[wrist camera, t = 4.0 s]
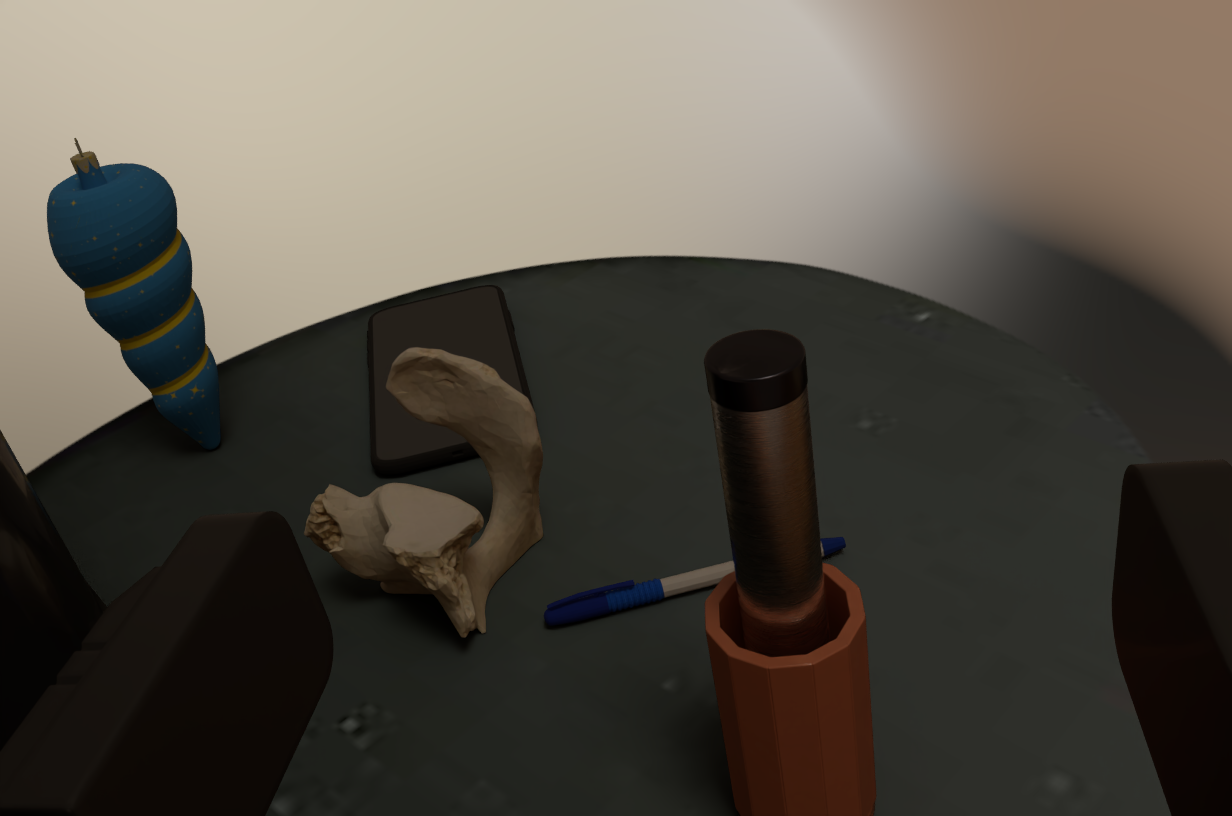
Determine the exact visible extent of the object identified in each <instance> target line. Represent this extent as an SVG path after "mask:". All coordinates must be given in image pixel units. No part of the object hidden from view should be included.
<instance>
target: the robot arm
mask: <svg viewBox="0 0 1232 816" xmlns="http://www.w3.org/2000/svg"><path fill="white" fill-rule="evenodd" d="M102 610H103V611H102ZM103 612H104V613H103ZM1112 620H1113V630H1114V638H1115V644H1116V649H1117V654H1118V658H1119V662H1120V666H1121V669H1122V672H1123V675H1124V678H1125V681H1126V684H1127V687H1128V690H1129V692H1130V695H1131V698H1132V701H1133V704H1134V707H1135V710H1136V713H1137V716H1138V719H1139V722H1140V725H1141V728H1142V730H1143V733H1144V736H1145V739H1146V742H1147V745H1148V748H1149V751H1150V754H1151V757H1152V760H1153V763H1154V766H1155V768H1156V771H1157V774H1158V777H1159V780H1160V783H1161V786H1162V789H1163V792H1164V795H1165V798H1166V801H1167V804H1168V806H1169V809H1170V812H1171V815H1172V816H1232V467H1231V465H1230V464H1229V463H1228V462H1227V461H1225V460H1204V461H1187V462H1169V463H1151V464H1134V465H1129V466H1128V468H1127V469H1126V471H1125V474H1124V478H1123V484H1122V493H1121V504H1120V515H1119V526H1118V537H1117V547H1116V558H1115V569H1114V580H1113V591H1112ZM332 661H333V636H332V629H331V625H330V622H329V619H328V616H327V614H326V611H325V609H324V607H323V604H322V602H321V599H320V597H319V595H318V592H317V590H316V587H315V585H314V583H313V580H312V578H311V575H310V573H309V571H308V568H307V566H306V563H305V561H304V559H303V556H302V554H301V551H300V549H299V547H298V544H297V542H296V539H295V537H294V535H293V532H292V530H291V528H290V526H289V524H288V522H287V521H286V519H285V518H284V517H283V516H282V515H280V514H279V513H277V512H273V511H269V512H252V513H234V514H217V515H205V516H202V517H200V518H198V519H197V520H196V521H195V522H194V523H193V524H192V525H191V526H190V528H189V529H188V530H187V532H186V533H185V535H184V536H183V537H182V539H181V540H180V542H179V543H178V544H177V546H176V547H175V549H174V550H173V551H172V553H171V554H170V555H169V557H168V558H167V560H166V561H165V562H164V564H163V565H162V567H155V568H153V569H152V570H151V571H150V572H148V573H147V574H146V575H145V576H144V577H142V578H141V579H140V580H139V581H137V582H136V583H135V584H134V585H132V586H131V587H130V588H129V589H128V590H126V591H125V592H124V593H123V594H121V595H120V596H119V597H118V598H116V599H115V600H114V601H113V602H112V603H111V604H110V605H109V606H108V608H107V606H106V605H105V604H104V603H103V601H102V600H101V599H100V598H99V597H98V595H97V594H96V593H95V592H94V590H93V589H92V588H91V587H90V585H89V584H88V583H87V582H86V580H85V579H84V577H83V576H82V574H81V572H80V570H79V569H78V567H77V565H76V563H75V562H74V560H73V558H72V556H71V554H70V553H69V551H68V549H67V547H66V546H65V544H64V542H63V540H62V538H61V537H60V535H59V533H58V531H57V530H56V528H55V526H54V524H53V522H52V521H51V519H50V517H49V515H48V514H47V512H46V510H45V508H44V507H43V505H42V503H41V501H40V499H39V498H38V496H37V494H36V492H35V491H34V489H33V487H32V485H31V483H30V482H29V480H28V478H27V476H26V475H25V473H24V471H23V469H22V468H21V466H20V464H19V462H18V461H17V459H16V457H15V455H14V453H13V452H12V450H11V448H10V446H9V445H8V443H7V441H6V439H5V437H4V436H3V434H2V432H1V430H0V816H265V815H266V813H267V811H268V808H269V806H270V804H271V802H272V800H273V798H274V796H275V793H276V791H277V789H278V787H279V785H280V783H281V781H282V778H283V776H284V774H285V772H286V770H287V768H288V766H289V763H290V761H291V759H292V757H293V755H294V753H295V751H296V748H297V746H298V744H299V742H300V740H301V738H302V736H303V733H304V731H305V729H306V727H307V725H308V723H309V721H310V718H311V716H312V714H313V712H314V710H315V708H316V706H317V703H318V701H319V699H320V697H321V695H322V693H323V691H324V688H325V686H326V684H327V681H328V679H329V675H330V672H331V667H332Z"/></svg>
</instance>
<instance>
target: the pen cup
mask: <svg viewBox="0 0 1232 816" xmlns="http://www.w3.org/2000/svg"><path fill="white" fill-rule="evenodd" d="M822 565H823V576H824V588H825V600H826V612H827V623H828V635H829V643H827V644H825V645H823V646H821V647H819V648H818V649H816V650H814V651H812V652H810V653H808V654H804V655H792V656H780V657H768V656H765V655H762V654H759V653H756V652H753V651H750V650H746V647H745V640H744V633H743V625H742V618H741V611H740V604H739V597H738V590H737V583H736V576H735V571H733V572H731V573H729V574H727V575H725V577H723V578H722V579H721V581H720V582H719V583H718V585H717V586H716V587H715V589H714V590H713V591H712V593H711V594H710V596H709V597H708V598H707V600H706V601H705V628H706V636H707V642H708V648H709V654H710V660H711V666H712V672H713V678H714V684H715V690H716V696H717V702H718V708H719V714H720V720H721V726H722V732H723V738H724V744H725V750H726V756H727V762H728V768H729V774H730V780H731V786H732V792H733V798H734V804H735V807H736V809H737V812H738V816H873V815H874V810H875V800H876V781H875V765H874V748H873V731H872V714H871V698H870V681H869V664H868V648H867V631H866V616H865V611H864V606H863V601H862V597H861V592H860V589H859V587H858V586H857V585H856V584H855V583H853V582H852V581H851V580H850V579H849V578H848V577H846V576H845V575H844V574H843V573H842V572H841V571H839V570H838V569H837V568H836V567H835V566H833V565H830V564H826V563H822Z"/></svg>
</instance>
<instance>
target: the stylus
mask: <svg viewBox="0 0 1232 816" xmlns="http://www.w3.org/2000/svg"><path fill="white" fill-rule="evenodd" d="M704 365H705V372H706V379H707V386H708V392H709V395H710V400H711V407H712V414H713V421H714V428H715V435H716V442H717V449H718V456H719V463H720V471H721V478H722V485H723V492H724V499H725V506H726V513H727V520H728V527H729V534H730V541H731V548H732V555H733V562H734V569H735V576H736V583H737V590H738V597H739V604H740V611H741V618H742V625H743V633H744V640H745V647H746V650H750V651H753V652H756V653H759V654H762V655H765V656H768V657H780V656H792V655H804V654H808V653H810V652H812V651H814V650H816V649H818V648H819V647H821V646H823V645H825V644H827V643H829V635H828V623H827V612H826V600H825V588H824V576H823V565H822V553H821V541H820V530H819V518H818V506H817V495H816V483H815V471H814V459H813V448H812V436H811V424H810V413H809V401H808V389H807V382H808V377H807V366H806V354H805V348H804V346H803V344H802V343H801V341H800V340H799V339H798V338H796V337H795V336H793V335H791V334H788V333H786V332H782V331H777V330H769V329H757V330H748V331H743V332H738V333H735V334H732V335H729V336H727V337H725V338H722V339H721V340H719V341H717V342H716V343H715V344H713V345H712V346H711V347H710V348H709V349H708V351H707V353H706V355H705V358H704Z"/></svg>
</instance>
